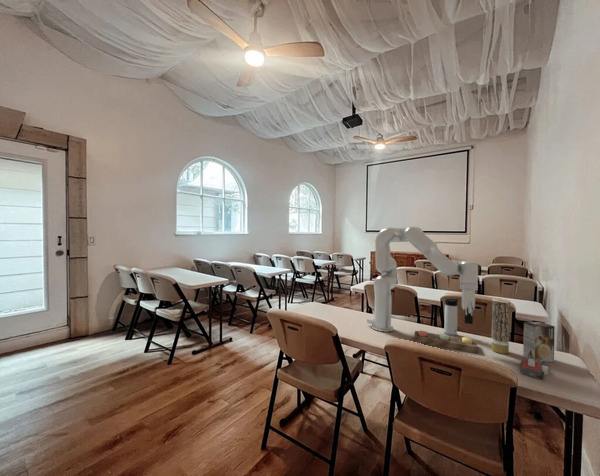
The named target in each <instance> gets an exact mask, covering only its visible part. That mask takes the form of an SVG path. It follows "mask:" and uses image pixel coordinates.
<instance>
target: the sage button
mask: <svg viewBox="0 0 600 476" xmlns="http://www.w3.org/2000/svg"><path fill="white" fill-rule="evenodd" d="M439 339H441V340H448V341H449V335H446V334H445V333H439Z"/></svg>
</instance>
